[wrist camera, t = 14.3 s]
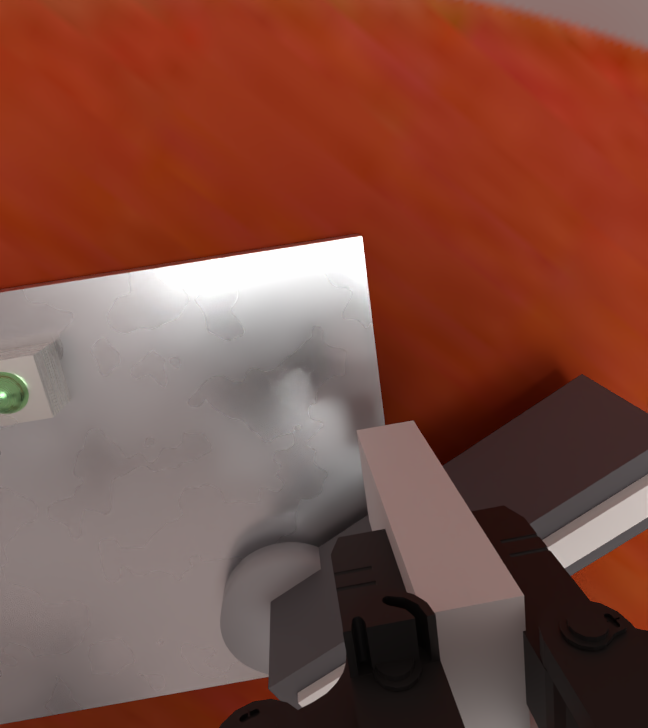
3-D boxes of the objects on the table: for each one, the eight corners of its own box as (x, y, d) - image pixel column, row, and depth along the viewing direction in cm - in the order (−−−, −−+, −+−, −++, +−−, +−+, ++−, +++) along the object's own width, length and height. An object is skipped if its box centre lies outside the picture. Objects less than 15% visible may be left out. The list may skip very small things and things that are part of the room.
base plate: (-229, 742, 20) (-309, 828, 18) (-463, 361, 16) (-618, 396, 13) (406, 630, 21) (425, 696, 18) (357, 233, 17) (372, 241, 14)
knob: (196, 589, 18) (169, 714, 14) (564, 343, 17) (664, 397, 12) (275, 670, 20) (274, 808, 15) (625, 448, 18) (736, 531, 14)
